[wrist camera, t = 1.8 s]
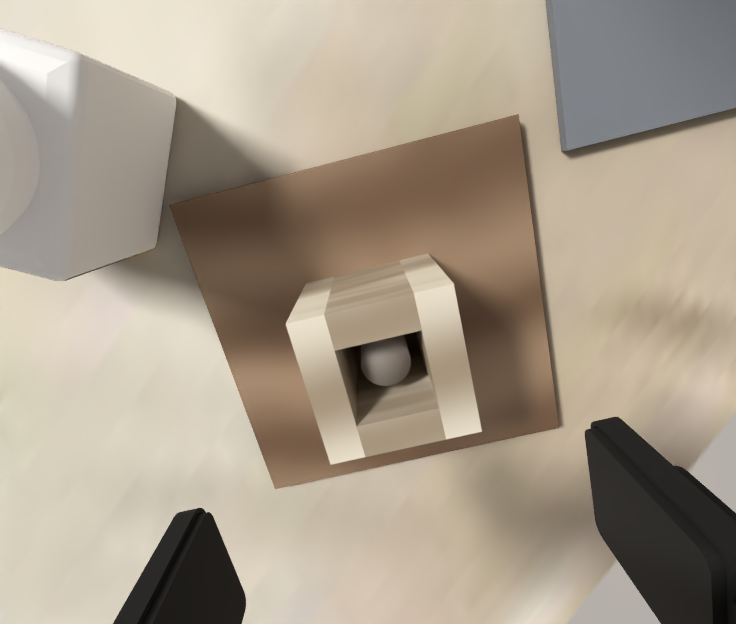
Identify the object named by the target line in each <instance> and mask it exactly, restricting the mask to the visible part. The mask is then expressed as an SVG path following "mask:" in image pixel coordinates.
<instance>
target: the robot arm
mask: <svg viewBox="0 0 736 624" xmlns="http://www.w3.org/2000/svg"><path fill="white" fill-rule="evenodd" d="M585 440H586V448H587V457H588V465H589V473H590V481H591V489H592V497H593V505H594V513H595V521H596V525H597V528H598V530H599V532H600V534H601V536H602V538H603V539H604V541H605V542H606V544H607V545H608V547H609V548H610V550H611V551H612V553H613V554H614V556H615V557H616V558H617V560H618V561H619V563H620V564H621V566H622V567H623V569H624V570H625V571H626V573H627V575H628V576H629V577H630V579H631V580H632V582H633V583H634V585H635V586H636V588H637V589H638V590H639V592H640V594H641V595H642V596H643V598H644V599H645V601H646V602H647V604H648V605H649V606H650V608H651V610H652V611H653V612H654V614H655V615H656V617H657V618H658V620H659V621H660V623H661V624H736V513H735V512H734V511H732V510H731V509H730V508H729V507H728V506H727V505H726V504H724V503H723V502H722V501H721V500H720V499H719V498H717V497H716V496H715V495H714V494H713V493H712V492H711V491H710V490H708V489H707V488H706V487H705V486H704V485H702V484H701V483H700V482H699V481H698V480H697V479H696V478H694V477H693V476H692V475H691V474H690V473H689V472H688V471H686V470H685V469H683V468H682V467H679V466H673V465H672V464H671V463H669V462H668V461H667V460H666V459H665V458H664V457H663V456H662V455H661V454H659V453H658V452H657V451H656V450H655V449H654V448H653V447H652V446H650V445H649V444H648V443H647V442H646V441H645V440H644V439H643V438H642V437H640V436H639V435H638V434H637V433H636V432H635V431H634V430H633V429H631V428H630V427H629V426H628V425H627V424H626V423H625V422H624V421H623V420H621V419H620V418H619V417H612V418H608V419H603V420H599V421H594V422H592V423H591V429H587V430H586V431H585ZM245 608H246V598H245V593H244V590H243V588H242V586H241V583H240V581H239V578H238V576H237V574H236V571H235V569H234V566H233V564H232V561H231V559H230V557H229V554H228V552H227V549H226V547H225V544H224V542H223V540H222V537H221V535H220V532H219V530H218V527H217V525H216V523H215V520H214V518H213V516H212V514H211V513H209V512H207V513H206V512H205V510H204V509H202V508H197V509H192V510H188V511H183V512H179V513H177V514H176V515H175V517H174V518H173V520H172V522H171V523H170V525H169V527H168V529H167V530H166V532H165V534H164V536H163V537H162V539H161V541H160V543H159V544H158V546H157V548H156V550H155V551H154V553H153V555H152V557H151V558H150V560H149V562H148V564H147V565H146V567H145V569H144V571H143V572H142V574H141V576H140V577H139V579H138V581H137V583H136V584H135V586H134V588H133V590H132V591H131V593H130V595H129V597H128V598H127V600H126V602H125V604H124V605H123V607H122V609H121V611H120V612H119V614H118V616H117V618H116V619H115V621H114V623H113V624H242V620H243V616H244V613H245Z"/></svg>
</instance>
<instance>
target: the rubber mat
mask: <svg viewBox="0 0 736 624" xmlns="http://www.w3.org/2000/svg"><path fill="white" fill-rule="evenodd" d="M546 8H547V18H548V27H549V37H550V46H551V56H552V66H553V75H554V85H555V94H556V104H557V114H558V123H559V133H560V142H561V151H568V150H572V149H576V148H580V147H584V146H587V145H591V144H595V143H599V142H603V141H607V140H611V139H615V138H619V137H623V136H627V135H631V134H635V133H639V132H643V131H647V130H651V129H655V128H658V127H662V126H666V125H670V124H674V123H678V122H682V121H686V120H690V119H694V118H698V117H702V116H706V115H710V114H714V113H718V112H722V111H725V110H729V109H733V108H736V0H546Z"/></svg>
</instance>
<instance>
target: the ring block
mask: <svg viewBox="0 0 736 624" xmlns="http://www.w3.org/2000/svg"><path fill="white" fill-rule="evenodd" d="M286 327H287V330H288V333H289V337H290V340H291V343H292V346H293V349H294V352H295V355H296V358H297V362H298V365H299V368H300V371H301V374H302V377H303V380H304V383H305V386H306V390H307V393H308V396H309V399H310V402H311V405H312V408H313V411H314V415H315V418H316V421H317V424H318V427H319V430H320V433H321V436H322V440H323V443H324V446H325V449H326V452H327V455H328V458H329V461H330V464H331V465H332V464H336V463H341V462H346V461H350V460H355V459H359V458H364V457H368V456H373V455H378V454H382V453H387V452H391V451H396V450H400V449H405V448H410V447H414V446H419V445H423V444H428V443H432V442H437V441H442V440H446V439H451V438H455V437H460V436H464V435H469V434H474V433H478V432H482V429H481V424H480V418H479V413H478V408H477V403H476V397H475V392H474V387H473V382H472V377H471V371H470V366H469V361H468V356H467V350H466V345H465V340H464V335H463V329H462V324H461V319H460V314H459V309H458V303H457V298H456V293H455V288H454V283H453V282H452V281H451V280H450V279H449V277H448V276H447V275H446V274H445V273H444V272H443V270H442V269H441V268H440V267H439V266H438V264H437V263H436V262H435V261H434V260H433V258H432V257H431V256H430V255H429V254H424V255H420V256H415V257H411V258H407V259H403V260H399V261H395V262H391V263H387V264H383V265H379V266H375V267H370V268H366V269H362V270H358V271H354V272H350V273H346V274H342V275H338V276H334V277H330V278H325V279H321V280H317V281H313V282H309V283H306V284H305V286H304V288H303V290H302V292H301V294H300V296H299V298H298V300H297V302H296V304H295V306H294V308H293V310H292V312H291V314H290V316H289V318H288V320H287V322H286ZM413 332H416V336H417V341H418V345H419V348H416V349H411V350H408V351H409V354H410V358H411V367H410V370H409V372H408V374H407V376H406V377H405V378H404V379H403V380H402V381H400V382H399V383H397V384H394V385H390V386H381V385H377V384H374V383H372V382H371V381H369V380H368V379H367V378H366V377H365V375H364V374H363V371H362V368H361V361H360V362H358V361H357V357H356V354H355V350H354V346H357V345H362V344H366V343H370V342H374V341H379V340H383V339H387V338H391V337H396V336H400V335H404V334H408V333H413Z"/></svg>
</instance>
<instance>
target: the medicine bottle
mask: <svg viewBox="0 0 736 624" xmlns="http://www.w3.org/2000/svg"><path fill="white" fill-rule="evenodd" d="M176 104H177V103H176V98H175V97H174V95H173V94H172V93H171V92H169V91H167V90H165V89H162V88H160V87H158V86H155V85H153V84H151V83H148V82H146V81H144V80H141V79H139V78H137V77H134V76H132V75H130V74H128V73H125V72H123V71H121V70H118V69H116V68H114V67H111V66H109V65H107V64H104V63H102V62H100V61H97V60H95V59H93V58H90V57H88V56H86V55H84V54H81V53H79V52H77V51H73V50H70V49H67V48H63V47H60V46H57V45H54V44H50V43H47V42H44V41H41V40H37V39H34V38H31V37H27V36H24V35H21V34H18V33H14V32H11V31H8V30H5V29H1V28H0V267H4V268H8V269H12V270H16V271H20V272H24V273H27V274H31V275H35V276H39V277H43V278H47V279H51V280H55V281H66V280H69V279H71V278H74V277H77V276H80V275H83V274H85V273H88V272H91V271H94V270H96V269H99V268H102V267H105V266H108V265H110V264H113V263H116V262H119V261H122V260H124V259H127V258H130V257H133V256H135V255H138V254H141V253H144V252H147V251H149V250H152V249H153V248H155V246H156V244H157V238H158V231H159V224H160V217H161V210H162V203H163V196H164V189H165V182H166V175H167V167H168V160H169V153H170V146H171V139H172V132H173V125H174V118H175V111H176Z"/></svg>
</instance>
